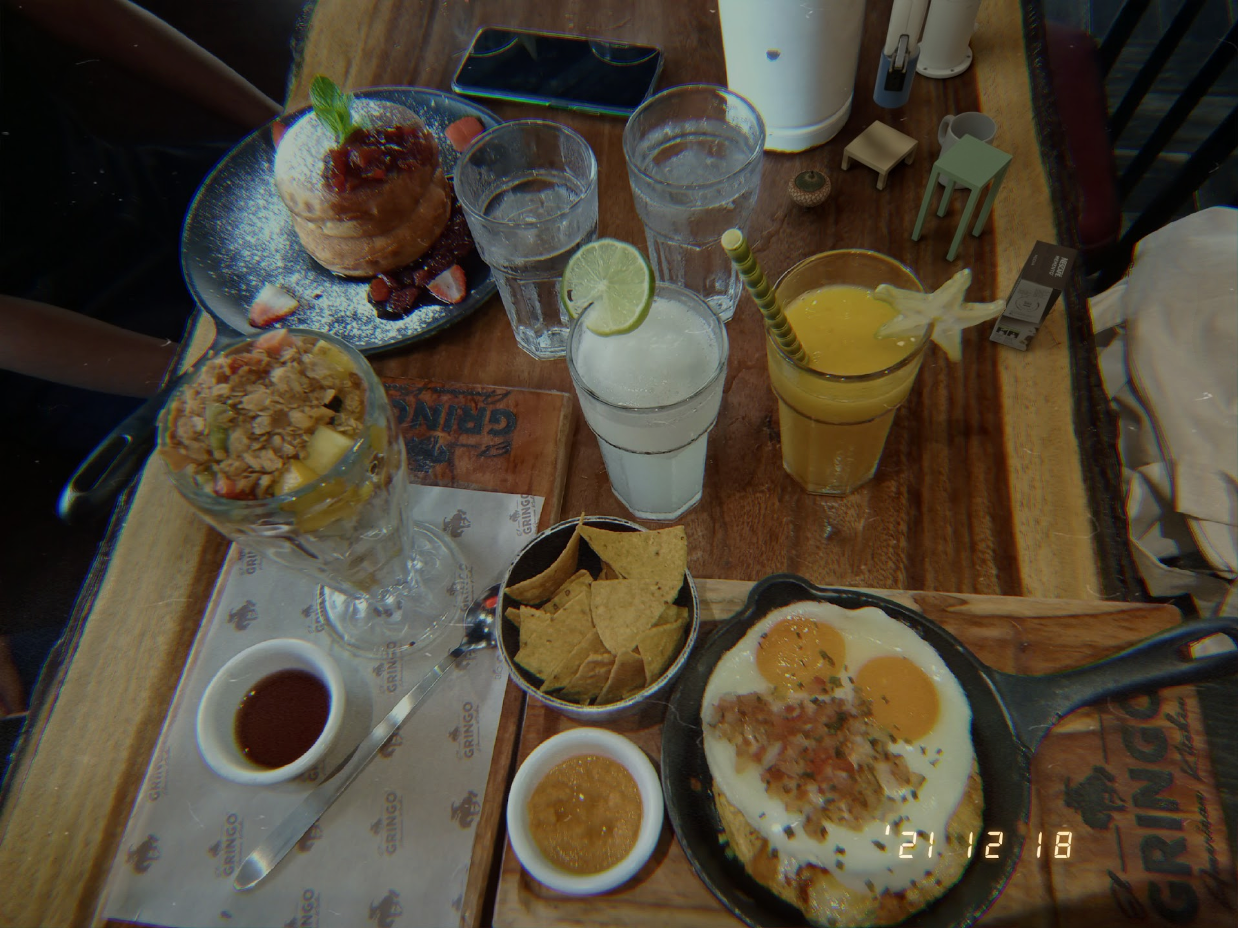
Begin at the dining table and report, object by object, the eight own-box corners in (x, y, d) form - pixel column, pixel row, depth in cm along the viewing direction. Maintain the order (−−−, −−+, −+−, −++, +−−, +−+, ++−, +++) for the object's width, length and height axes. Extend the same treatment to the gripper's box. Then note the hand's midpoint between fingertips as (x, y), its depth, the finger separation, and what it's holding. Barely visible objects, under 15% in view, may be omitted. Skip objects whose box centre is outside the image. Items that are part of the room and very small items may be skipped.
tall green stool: (940, 211, 142) (966, 133, 126) (981, 233, 138) (1013, 156, 122) (911, 238, 140) (933, 163, 124) (951, 262, 136) (980, 187, 120)
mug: (989, 178, 144) (1007, 131, 134) (951, 195, 143) (967, 150, 133) (952, 142, 149) (967, 94, 139) (915, 158, 149) (928, 112, 139)
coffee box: (1026, 352, 126) (1063, 292, 112) (987, 340, 128) (1019, 279, 114) (1042, 313, 129) (1080, 249, 114) (1004, 301, 131) (1037, 237, 117)
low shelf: (872, 140, 152) (876, 120, 148) (912, 161, 148) (918, 141, 144) (841, 168, 150) (844, 148, 146) (881, 190, 146) (885, 170, 142)
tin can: (888, 80, 137) (897, 33, 129) (916, 94, 134) (928, 47, 126) (865, 99, 136) (874, 52, 128) (894, 113, 133) (905, 67, 125)
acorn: (797, 231, 145) (801, 192, 136) (778, 204, 148) (781, 164, 140) (835, 215, 145) (842, 176, 136) (815, 189, 149) (820, 149, 140)
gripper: (900, -59, 120) (881, 44, 136) (885, 7, 113) (866, 108, 129) (949, -59, 118) (923, 46, 134) (936, 9, 111) (911, 111, 127)
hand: (895, 76), depth 131 cm, fingers closed on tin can, 6 cm apart
